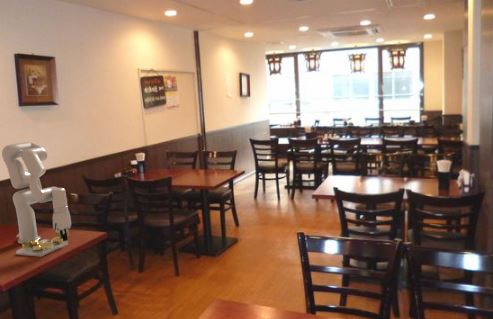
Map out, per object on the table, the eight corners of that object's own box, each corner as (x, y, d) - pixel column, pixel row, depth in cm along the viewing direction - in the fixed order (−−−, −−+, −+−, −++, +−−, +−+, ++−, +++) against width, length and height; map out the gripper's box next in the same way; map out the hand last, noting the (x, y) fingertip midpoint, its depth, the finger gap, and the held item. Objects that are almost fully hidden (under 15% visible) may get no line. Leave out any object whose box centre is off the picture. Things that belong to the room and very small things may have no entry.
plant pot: (65, 240, 265) (63, 226, 264) (51, 240, 267) (49, 226, 266) (74, 235, 274) (72, 221, 273) (61, 235, 276) (59, 221, 275)
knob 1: (35, 251, 239) (34, 245, 239) (32, 249, 242) (31, 244, 242) (53, 246, 246) (52, 240, 245) (50, 245, 249) (49, 239, 249)
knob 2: (51, 241, 255) (50, 236, 255) (59, 239, 258) (58, 234, 258) (58, 244, 248) (57, 239, 248) (65, 242, 251) (65, 237, 251)
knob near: (34, 242, 255) (33, 237, 255) (40, 243, 254) (39, 237, 253) (20, 248, 246) (19, 242, 246) (26, 249, 245) (25, 243, 244)
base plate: (16, 254, 245) (15, 246, 244) (44, 242, 263) (43, 235, 262) (41, 256, 238) (40, 249, 237) (67, 244, 256) (67, 237, 256)
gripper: (64, 206, 259) (68, 235, 262) (45, 212, 245) (49, 244, 248) (75, 206, 256) (78, 236, 259) (56, 213, 243) (60, 245, 245)
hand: (64, 240), depth 253 cm, fingers closed
